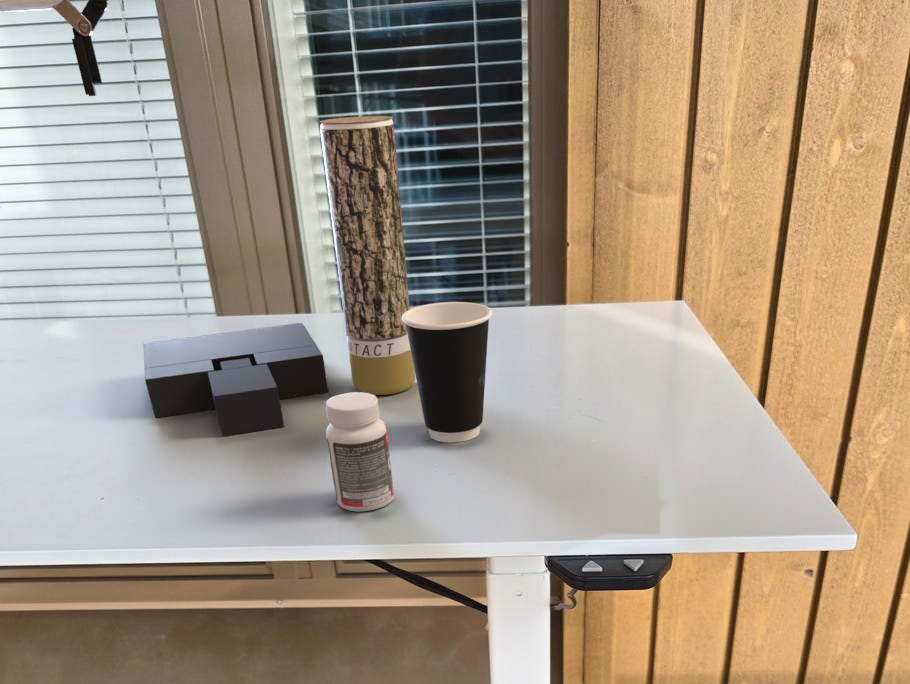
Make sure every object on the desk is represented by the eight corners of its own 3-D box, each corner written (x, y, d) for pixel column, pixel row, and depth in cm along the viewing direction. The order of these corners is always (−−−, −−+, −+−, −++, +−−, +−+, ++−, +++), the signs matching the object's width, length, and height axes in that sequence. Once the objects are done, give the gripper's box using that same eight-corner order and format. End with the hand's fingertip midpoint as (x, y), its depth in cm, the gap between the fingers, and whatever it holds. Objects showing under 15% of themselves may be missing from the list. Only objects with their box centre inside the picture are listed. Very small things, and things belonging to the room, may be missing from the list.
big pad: (155, 418, 91) (145, 379, 88) (152, 378, 102) (143, 343, 100) (328, 392, 95) (322, 354, 93) (307, 356, 106) (302, 322, 104)
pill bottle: (405, 500, 72) (395, 400, 67) (356, 518, 70) (342, 416, 65) (373, 482, 75) (361, 385, 70) (325, 500, 73) (309, 400, 68)
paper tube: (374, 373, 99) (345, 116, 85) (427, 380, 97) (406, 115, 83) (341, 393, 94) (304, 123, 80) (395, 400, 92) (367, 122, 78)
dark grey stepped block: (222, 436, 86) (213, 396, 83) (213, 401, 94) (205, 363, 92) (284, 426, 87) (277, 386, 85) (270, 392, 96) (263, 355, 93)
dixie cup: (513, 433, 83) (510, 312, 77) (443, 456, 79) (433, 330, 73) (464, 411, 88) (458, 296, 82) (396, 432, 85) (384, 313, 78)
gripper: (80, -175, 67) (139, 90, 77) (-177, -176, 63) (-80, 105, 73) (75, -197, 61) (140, 94, 71) (-208, -199, 57) (-98, 110, 67)
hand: (29, 99), depth 72 cm, fingers open, 9 cm apart
